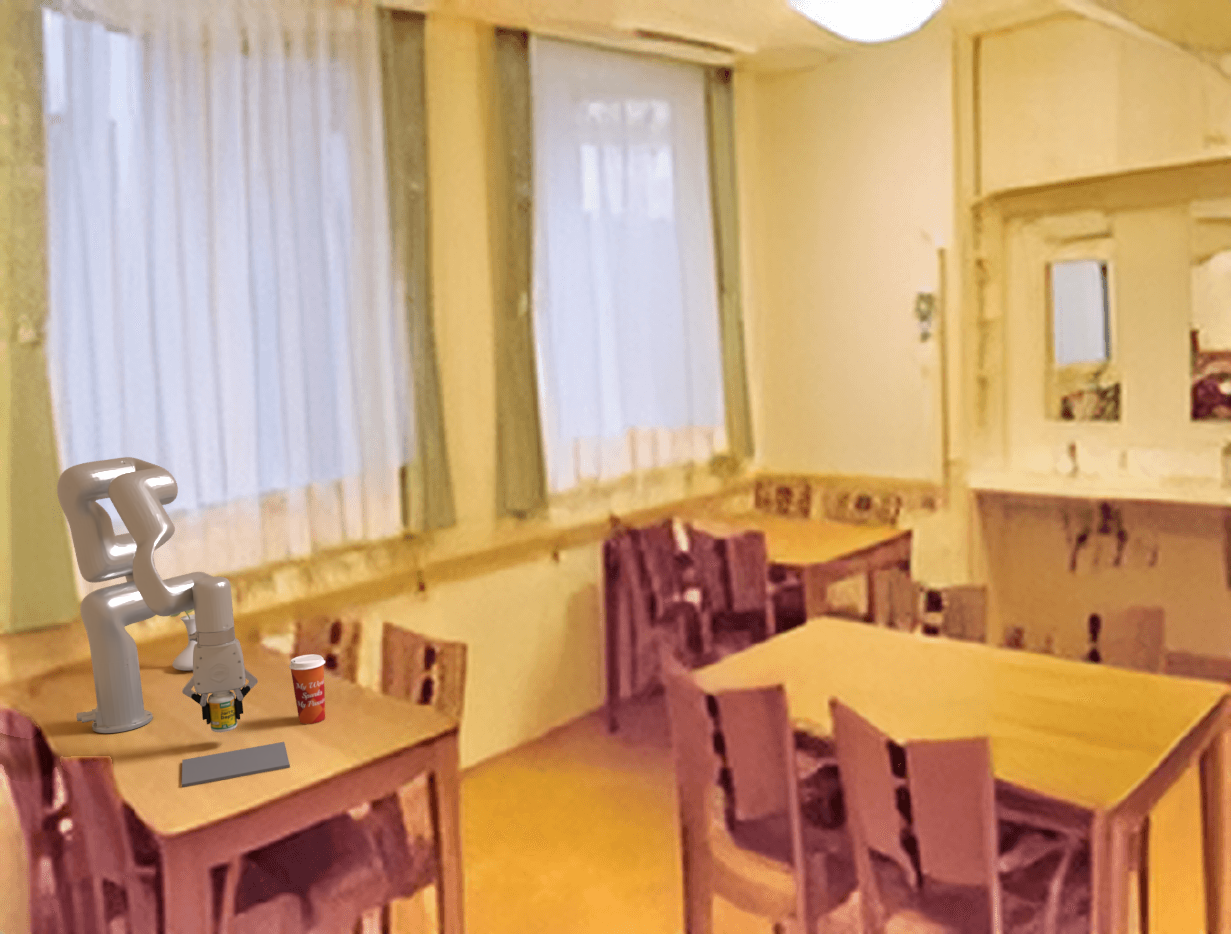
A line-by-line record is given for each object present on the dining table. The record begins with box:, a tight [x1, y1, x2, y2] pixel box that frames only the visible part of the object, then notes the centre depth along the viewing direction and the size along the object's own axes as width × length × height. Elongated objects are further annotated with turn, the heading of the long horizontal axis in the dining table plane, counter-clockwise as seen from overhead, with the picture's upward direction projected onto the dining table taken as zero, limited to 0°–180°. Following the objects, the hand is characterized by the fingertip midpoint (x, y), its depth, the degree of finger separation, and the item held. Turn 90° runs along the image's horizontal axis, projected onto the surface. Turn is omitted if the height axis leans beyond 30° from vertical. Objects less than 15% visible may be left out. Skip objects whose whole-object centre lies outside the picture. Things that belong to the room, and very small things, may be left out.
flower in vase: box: [170, 609, 197, 672], centre depth 294 cm, size 13×11×25 cm
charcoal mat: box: [181, 741, 291, 788], centre depth 225 cm, size 20×14×1 cm
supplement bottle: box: [207, 690, 238, 733], centre depth 236 cm, size 5×5×10 cm
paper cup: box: [288, 653, 326, 725], centre depth 248 cm, size 8×8×14 cm
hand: (223, 719), depth 236 cm, fingers closed on supplement bottle, 5 cm apart
